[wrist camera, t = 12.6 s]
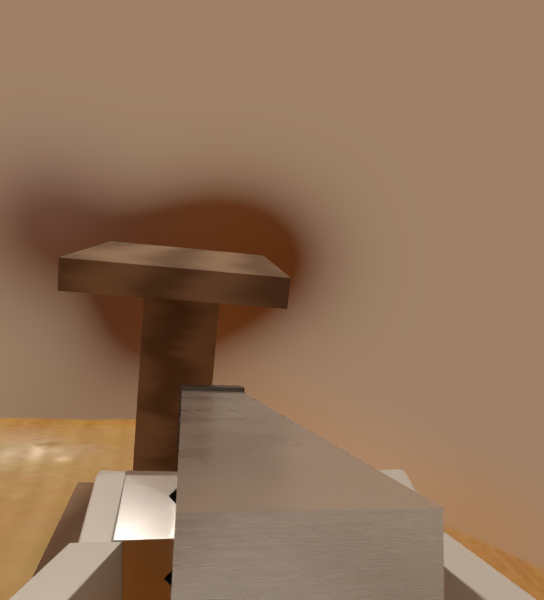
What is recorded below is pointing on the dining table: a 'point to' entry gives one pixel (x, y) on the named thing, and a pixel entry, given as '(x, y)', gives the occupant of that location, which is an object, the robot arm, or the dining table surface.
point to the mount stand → (164, 336)
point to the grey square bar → (291, 512)
